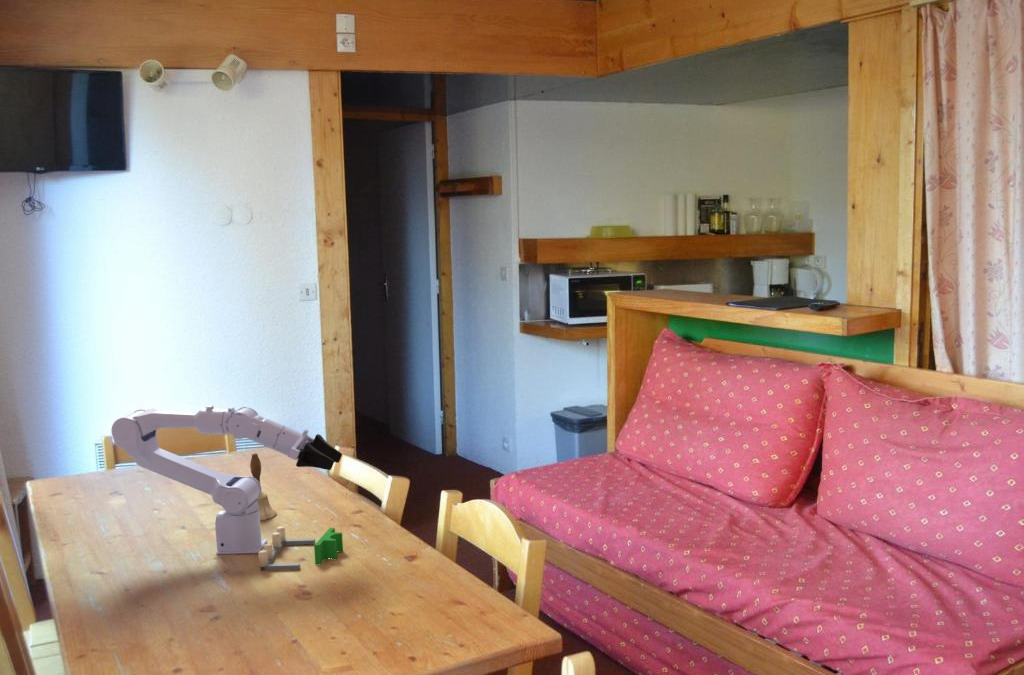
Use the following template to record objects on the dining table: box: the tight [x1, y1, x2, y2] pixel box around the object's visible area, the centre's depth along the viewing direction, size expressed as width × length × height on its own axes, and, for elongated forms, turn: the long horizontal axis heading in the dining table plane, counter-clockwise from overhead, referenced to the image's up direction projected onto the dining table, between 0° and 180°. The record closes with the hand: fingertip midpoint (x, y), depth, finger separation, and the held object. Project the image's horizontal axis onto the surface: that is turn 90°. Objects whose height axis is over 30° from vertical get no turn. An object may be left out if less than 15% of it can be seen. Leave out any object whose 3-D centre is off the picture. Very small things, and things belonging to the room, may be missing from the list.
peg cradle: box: [258, 525, 316, 572], centre depth 213 cm, size 8×17×4 cm, turn 179°
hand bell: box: [249, 452, 278, 522], centre depth 241 cm, size 8×8×16 cm
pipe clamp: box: [313, 527, 344, 565], centre depth 213 cm, size 11×4×5 cm, turn 173°
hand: (336, 461), depth 215 cm, fingers open, 7 cm apart
